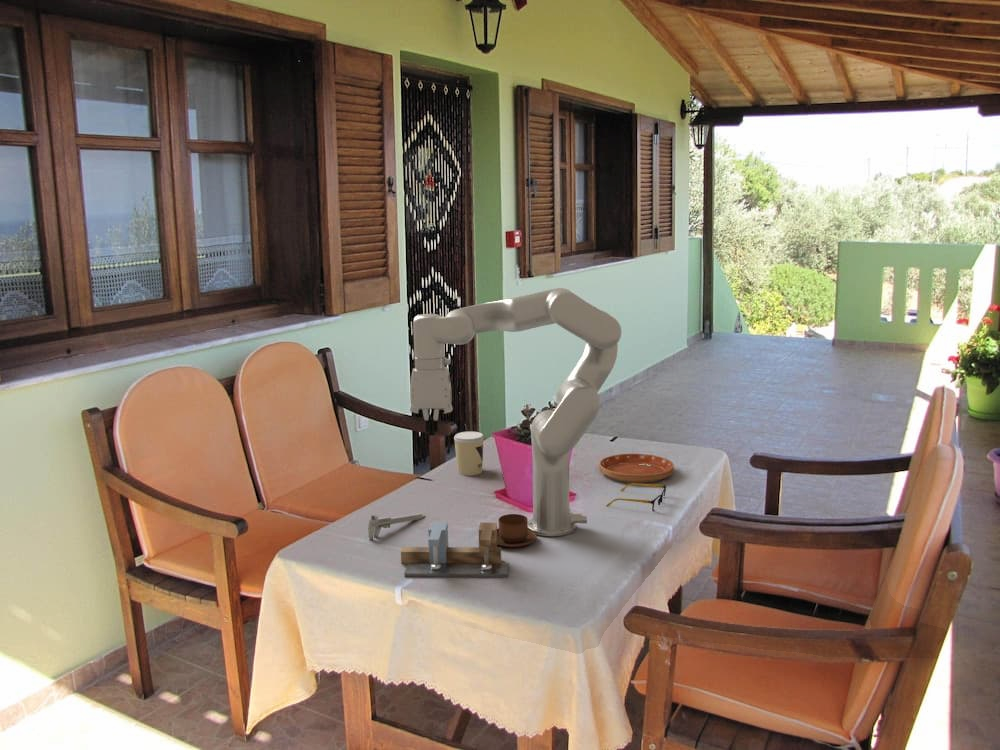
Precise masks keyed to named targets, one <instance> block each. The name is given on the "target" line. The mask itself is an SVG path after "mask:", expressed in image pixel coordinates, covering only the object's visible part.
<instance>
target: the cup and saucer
mask: <svg viewBox="0 0 1000 750" xmlns="http://www.w3.org/2000/svg"><path fill="white" fill-rule="evenodd" d="M528 522H529V521H528V517H527V516H525V515H522V514H519V513H518V514H517V513H510V514H503V515H502V516H500V517H499V518H498V527H497V546H502V547H506V548H519V547H525V546H528V545H530V544H532V543H533V542H535V541H536V539H537V538H538V535H537V533H536V532H535V531H534V530H532V529H530V528H528Z"/></svg>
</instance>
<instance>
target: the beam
mask: <svg viewBox="0 0 1000 750" xmlns="http://www.w3.org/2000/svg"><path fill="white" fill-rule="evenodd" d="M497 529H498V522H480V523H479V526H478V547H475V546H473V547H471V546H470V547H468V546H467V547H466V546H464V547H463V546H462V547H461V546H460V547H459V546H458V547H457V546H455V547H454V546H452V547H451V546H450V547H449V546H448V547H447V550H446V562H447V563H485V564H502V547H498V544H497ZM400 561H401V562H400V563H401V564H407V565H408V563H430V560H429V546H402V548H401V550H400Z"/></svg>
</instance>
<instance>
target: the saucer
mask: <svg viewBox="0 0 1000 750" xmlns="http://www.w3.org/2000/svg"><path fill="white" fill-rule="evenodd" d="M639 464H645V465H639ZM646 464H648V465H651V466H647V465H646ZM598 468H599V472H601V473H602V474H603V475H605V476H606V475H607V477H608V479H609V478H610V479H611V480H613V481H618V482H622V481H623V482H624V483H629V482H631V483H630V484H632V483H638V484H646V483H645V482H649V483H654V482H653V481H655V482H658V481H657V480H659V481H661V479H662V480H664V479H666V478H667V477H669V476H671V475H672V474H673V473H674V469H675V464H674V463H673V462H672V461H671V460H669V459H667V458H665V457H662V456H658V455H653V454H645V453H621V454H614V455H610V456H606V457H604V458H602V459H601V460H599V463H598ZM665 477H666V478H665ZM663 478H664V479H663Z"/></svg>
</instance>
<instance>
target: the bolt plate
mask: <svg viewBox="0 0 1000 750" xmlns="http://www.w3.org/2000/svg"><path fill="white" fill-rule="evenodd" d="M509 565H510V564H509V563H501V564H485V563H437V564H434V563H408V564H407V566H406V569H405V571H404V574H403V575H404V577H406V578H408V577H410V578H414V577H417V578H418V577H420V578H422V577H424V578H431V577H432V578H508V575H509V567H510V566H509Z"/></svg>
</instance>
